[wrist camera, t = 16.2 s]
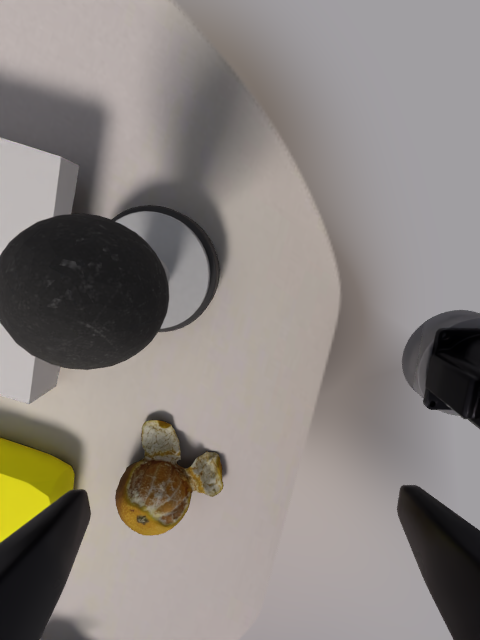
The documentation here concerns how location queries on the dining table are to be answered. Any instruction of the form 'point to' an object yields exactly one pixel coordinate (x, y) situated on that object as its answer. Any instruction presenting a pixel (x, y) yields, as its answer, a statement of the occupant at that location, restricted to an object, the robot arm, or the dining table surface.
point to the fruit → (163, 482)
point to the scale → (178, 259)
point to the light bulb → (82, 291)
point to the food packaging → (6, 223)
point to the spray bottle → (28, 484)
